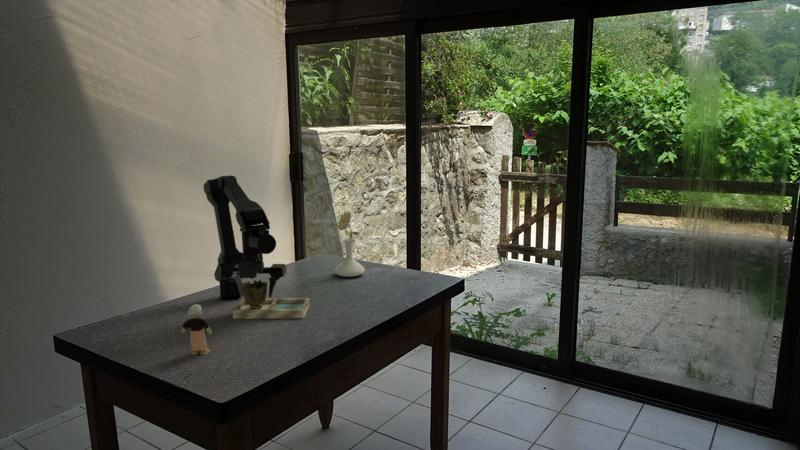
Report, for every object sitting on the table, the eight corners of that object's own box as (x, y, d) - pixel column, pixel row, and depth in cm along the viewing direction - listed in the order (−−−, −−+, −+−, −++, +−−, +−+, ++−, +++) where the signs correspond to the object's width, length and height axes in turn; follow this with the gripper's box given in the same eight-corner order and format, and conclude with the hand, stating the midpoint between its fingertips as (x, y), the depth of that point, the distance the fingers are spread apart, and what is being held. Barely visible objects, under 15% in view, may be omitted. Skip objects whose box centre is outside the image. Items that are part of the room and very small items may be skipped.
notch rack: (233, 318, 166) (232, 310, 165) (243, 306, 177) (243, 298, 176) (303, 318, 166) (303, 310, 165) (309, 305, 177) (309, 298, 176)
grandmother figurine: (215, 348, 144) (212, 301, 142) (212, 354, 141) (209, 306, 138) (184, 350, 143) (180, 303, 141) (180, 356, 140) (176, 308, 137)
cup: (246, 314, 166) (244, 288, 165) (240, 307, 173) (239, 282, 171) (271, 310, 170) (269, 285, 168) (265, 303, 176) (263, 278, 175)
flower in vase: (334, 271, 216) (332, 207, 212) (364, 270, 218) (363, 206, 213) (334, 281, 204) (332, 213, 199) (366, 279, 205) (364, 212, 200)
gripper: (212, 254, 160) (216, 307, 163) (277, 254, 160) (280, 306, 163) (224, 245, 171) (227, 295, 174) (285, 245, 171) (288, 294, 174)
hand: (255, 298), depth 171 cm, fingers open, 9 cm apart
